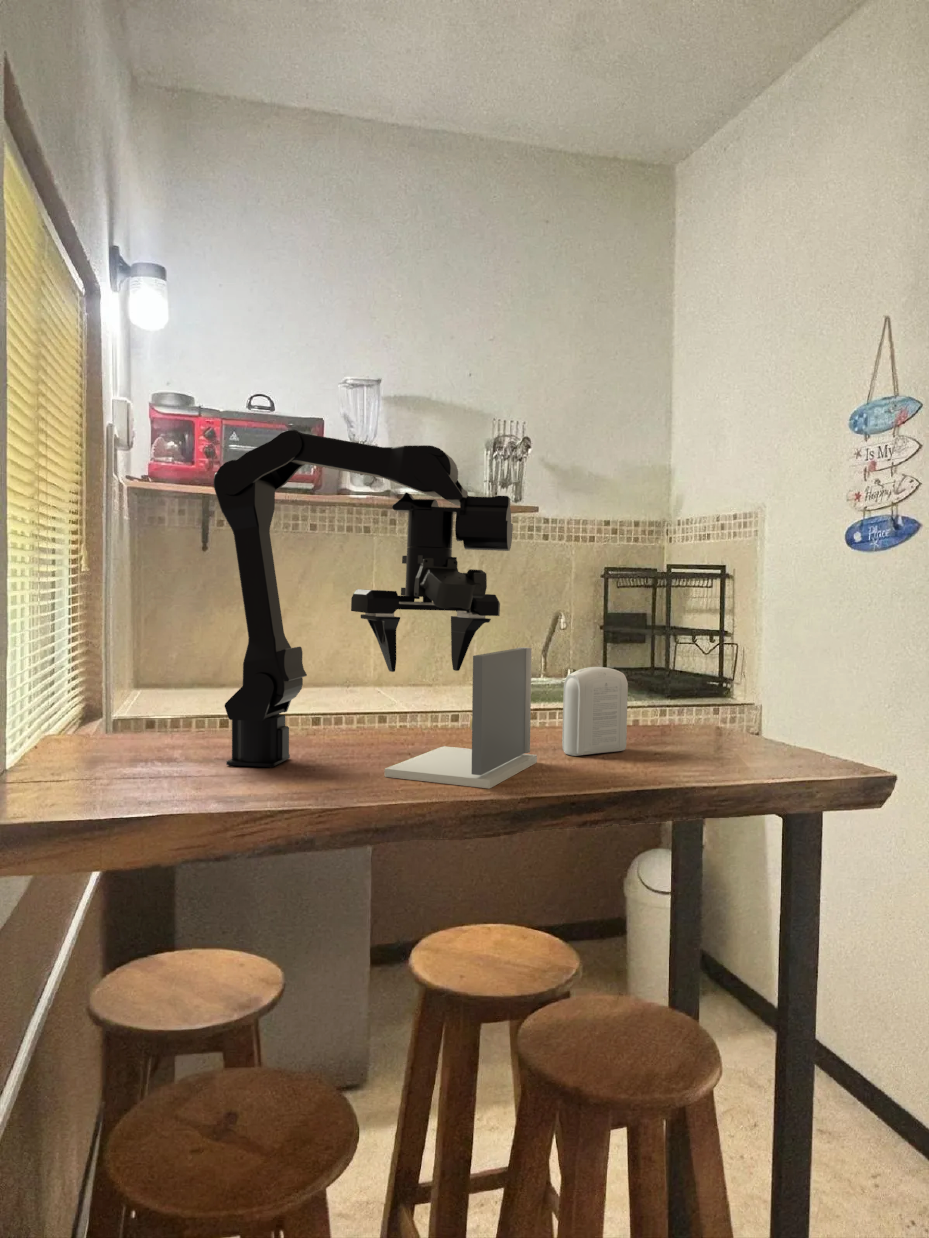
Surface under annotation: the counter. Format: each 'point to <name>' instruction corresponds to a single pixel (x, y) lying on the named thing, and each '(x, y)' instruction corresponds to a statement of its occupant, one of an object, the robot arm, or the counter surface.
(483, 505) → the robot arm
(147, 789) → the counter surface
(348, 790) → the counter surface
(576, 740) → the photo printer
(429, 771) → the board
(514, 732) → the door
